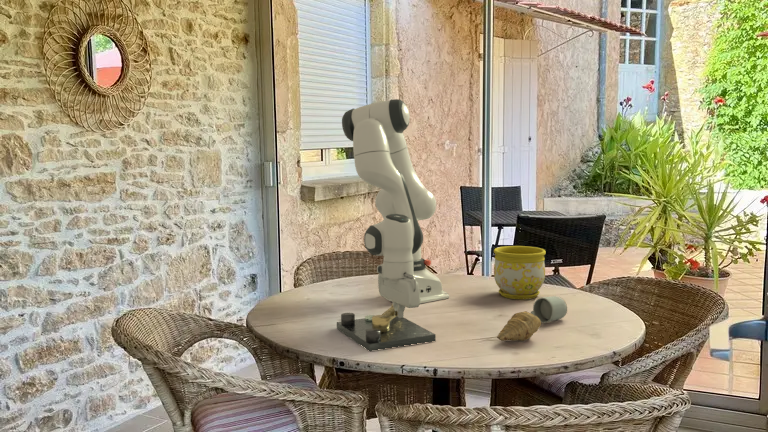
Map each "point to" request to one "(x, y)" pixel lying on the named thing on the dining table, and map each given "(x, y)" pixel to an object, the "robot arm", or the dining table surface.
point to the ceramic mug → (549, 309)
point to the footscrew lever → (383, 320)
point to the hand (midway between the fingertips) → (399, 316)
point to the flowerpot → (519, 271)
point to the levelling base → (375, 339)
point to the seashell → (520, 327)
